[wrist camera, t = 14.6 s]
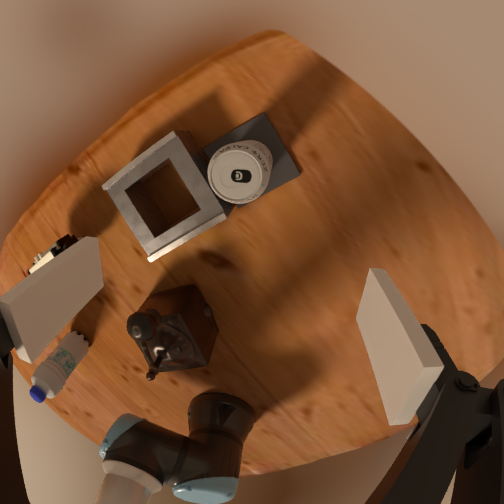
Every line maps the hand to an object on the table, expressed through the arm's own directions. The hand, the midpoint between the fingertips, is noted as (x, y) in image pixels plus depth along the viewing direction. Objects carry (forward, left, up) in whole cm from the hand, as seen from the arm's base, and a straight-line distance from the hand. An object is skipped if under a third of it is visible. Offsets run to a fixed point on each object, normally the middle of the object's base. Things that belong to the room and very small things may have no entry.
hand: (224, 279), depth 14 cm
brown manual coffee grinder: (-23, -11, -31) cm, 40 cm away
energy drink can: (0, +3, -30) cm, 30 cm away
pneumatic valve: (-34, +7, -31) cm, 46 cm away
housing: (-12, +5, -31) cm, 33 cm away
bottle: (-52, -9, -31) cm, 61 cm away
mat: (0, +3, -31) cm, 31 cm away
